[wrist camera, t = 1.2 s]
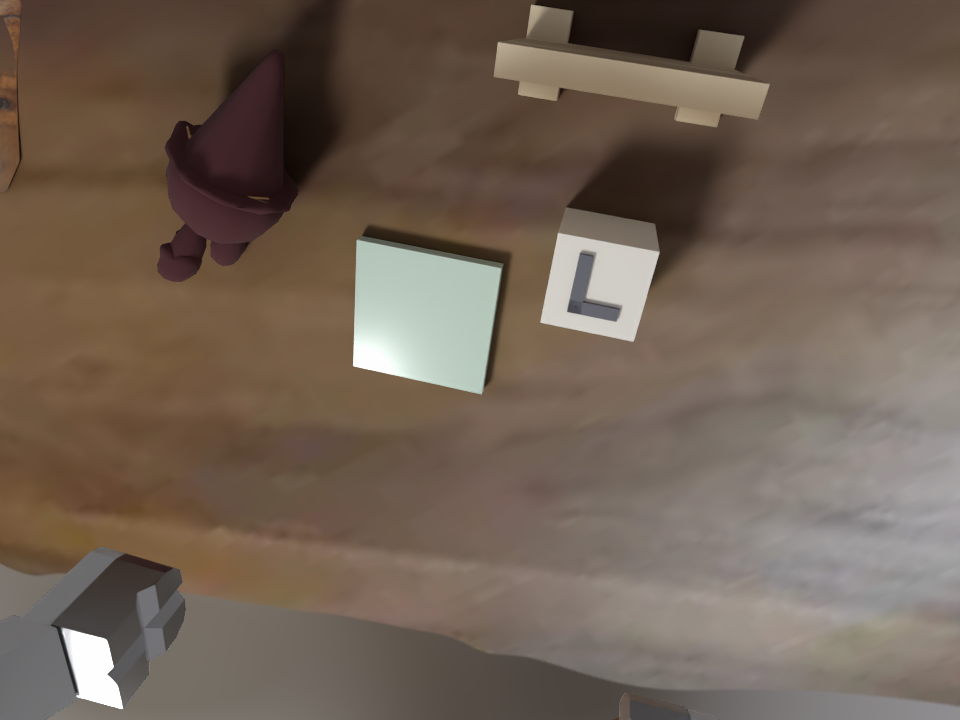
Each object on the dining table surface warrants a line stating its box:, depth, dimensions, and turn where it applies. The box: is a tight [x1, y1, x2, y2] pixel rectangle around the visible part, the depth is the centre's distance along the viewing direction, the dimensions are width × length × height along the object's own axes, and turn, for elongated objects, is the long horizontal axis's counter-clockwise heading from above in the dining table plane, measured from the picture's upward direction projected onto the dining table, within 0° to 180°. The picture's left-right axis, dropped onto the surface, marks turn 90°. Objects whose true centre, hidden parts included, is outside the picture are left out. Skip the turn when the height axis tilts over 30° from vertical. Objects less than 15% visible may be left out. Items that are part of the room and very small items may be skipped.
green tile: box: [353, 236, 504, 394], centre depth 39 cm, size 9×9×1 cm
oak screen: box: [494, 5, 770, 127], centre depth 27 cm, size 4×10×9 cm, turn 83°
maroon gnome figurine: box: [157, 50, 298, 282], centre depth 34 cm, size 7×7×15 cm
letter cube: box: [541, 207, 660, 342], centre depth 33 cm, size 5×5×5 cm
